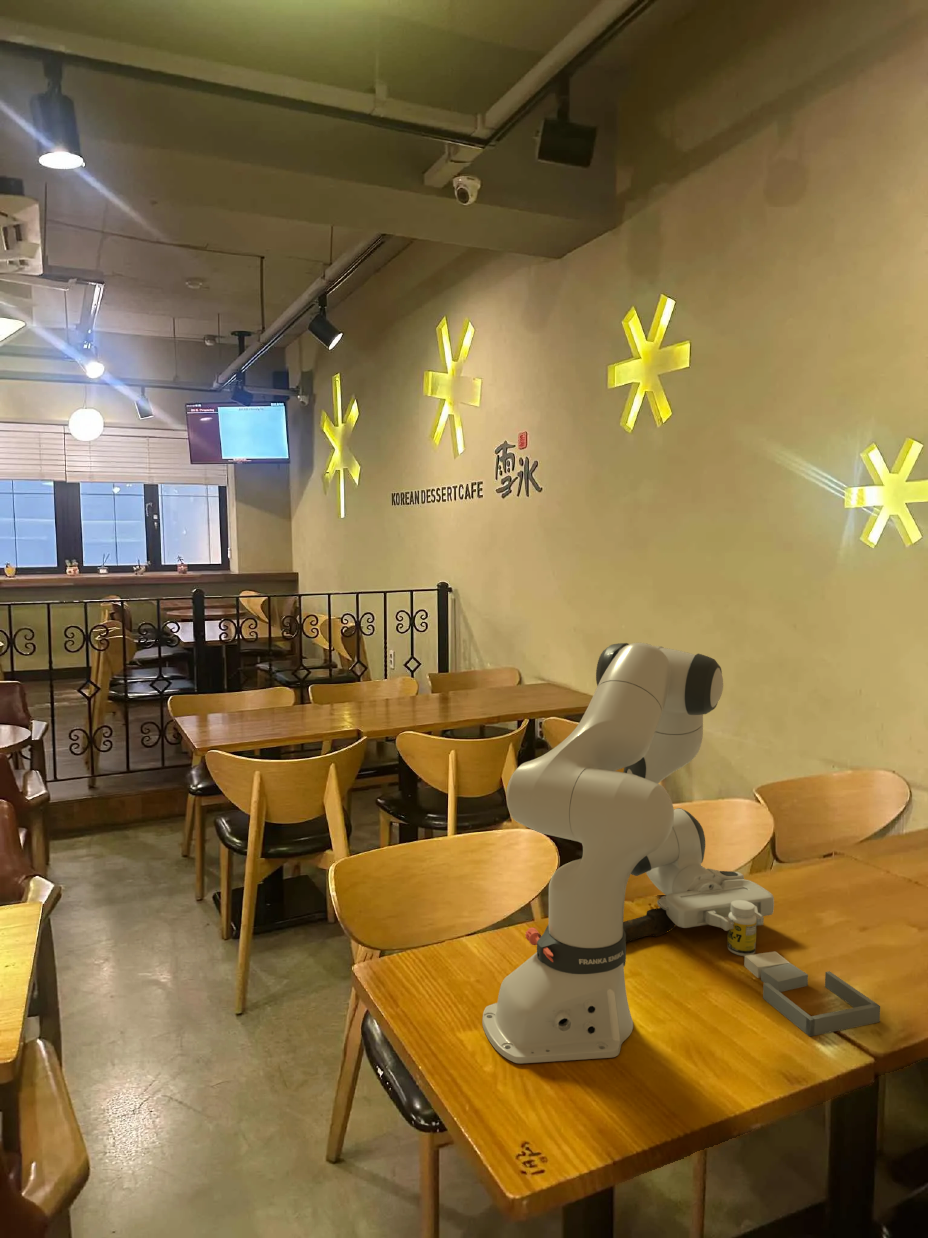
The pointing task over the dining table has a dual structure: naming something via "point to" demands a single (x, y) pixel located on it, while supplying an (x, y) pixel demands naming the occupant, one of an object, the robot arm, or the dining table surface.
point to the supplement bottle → (742, 928)
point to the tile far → (763, 962)
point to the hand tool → (648, 925)
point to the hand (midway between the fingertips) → (745, 924)
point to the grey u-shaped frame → (827, 1022)
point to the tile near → (784, 977)
